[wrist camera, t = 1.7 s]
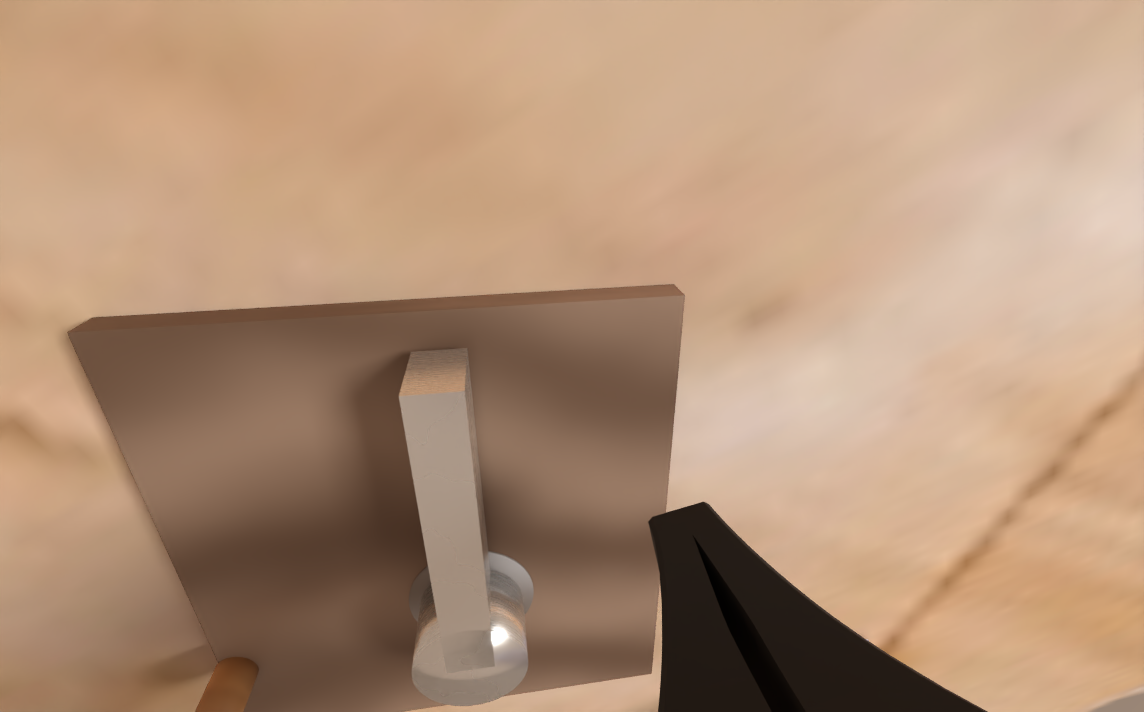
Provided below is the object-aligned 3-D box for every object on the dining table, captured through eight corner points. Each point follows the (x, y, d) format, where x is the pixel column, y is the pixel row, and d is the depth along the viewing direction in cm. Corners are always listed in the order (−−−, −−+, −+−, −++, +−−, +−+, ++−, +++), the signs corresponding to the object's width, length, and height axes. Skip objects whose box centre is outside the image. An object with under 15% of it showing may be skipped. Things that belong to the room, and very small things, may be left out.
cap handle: (525, 632, 20) (530, 696, 18) (426, 646, 20) (419, 713, 18) (505, 345, 15) (509, 387, 13) (370, 354, 14) (351, 400, 12)
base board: (645, 652, 24) (668, 730, 21) (255, 709, 22) (220, 805, 19) (674, 284, 16) (715, 325, 13) (84, 317, 14) (-19, 376, 11)
